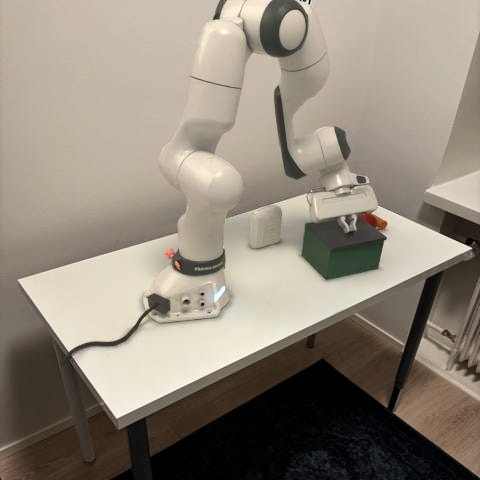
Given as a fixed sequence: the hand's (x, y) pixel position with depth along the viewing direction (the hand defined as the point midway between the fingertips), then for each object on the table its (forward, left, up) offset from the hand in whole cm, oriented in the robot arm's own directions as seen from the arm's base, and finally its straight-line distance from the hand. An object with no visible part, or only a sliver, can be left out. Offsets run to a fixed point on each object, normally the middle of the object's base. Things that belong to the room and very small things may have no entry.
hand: (350, 232), depth 140 cm
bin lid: (0, +3, -2) cm, 3 cm away
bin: (0, +3, -11) cm, 12 cm away
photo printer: (-16, +21, -12) cm, 29 cm away
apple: (+16, +15, -12) cm, 25 cm away
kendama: (+24, +26, -12) cm, 37 cm away
